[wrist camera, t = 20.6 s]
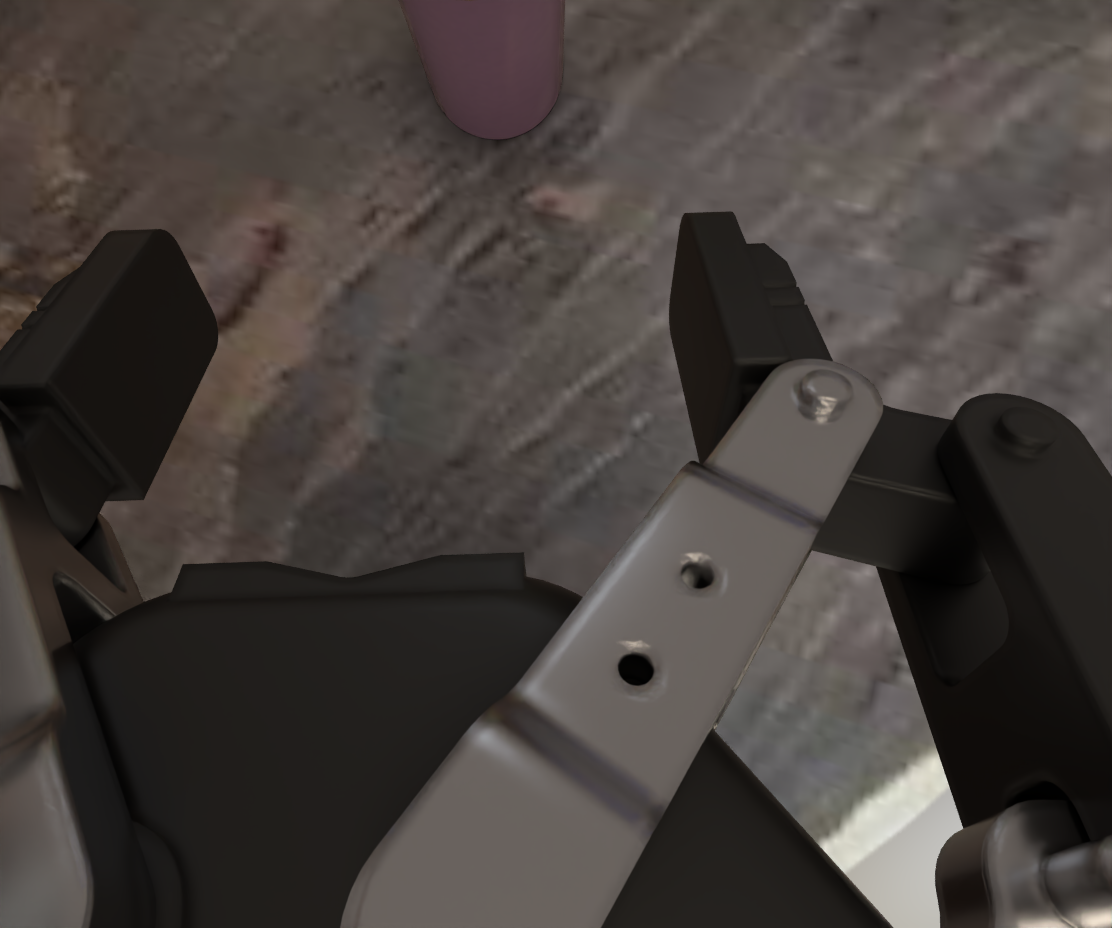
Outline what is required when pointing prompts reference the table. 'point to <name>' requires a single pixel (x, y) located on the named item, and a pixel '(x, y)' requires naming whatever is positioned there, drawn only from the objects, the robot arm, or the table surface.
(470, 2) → the spice jar
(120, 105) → the table surface
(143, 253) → the robot arm
